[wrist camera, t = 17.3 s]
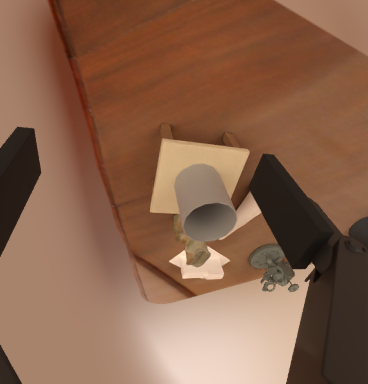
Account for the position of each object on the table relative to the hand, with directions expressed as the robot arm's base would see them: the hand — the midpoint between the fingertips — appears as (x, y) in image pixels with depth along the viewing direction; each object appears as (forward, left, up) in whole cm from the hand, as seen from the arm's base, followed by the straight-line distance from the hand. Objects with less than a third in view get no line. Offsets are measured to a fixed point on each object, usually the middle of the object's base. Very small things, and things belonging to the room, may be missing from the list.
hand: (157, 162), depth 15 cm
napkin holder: (+51, +22, -32) cm, 64 cm away
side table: (+18, +12, -31) cm, 38 cm away
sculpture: (+32, +14, -32) cm, 47 cm away
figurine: (+48, +43, -32) cm, 71 cm away
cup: (+18, +12, -23) cm, 32 cm away
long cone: (+31, +26, -32) cm, 51 cm away
